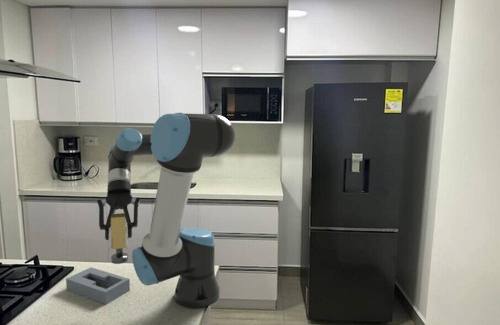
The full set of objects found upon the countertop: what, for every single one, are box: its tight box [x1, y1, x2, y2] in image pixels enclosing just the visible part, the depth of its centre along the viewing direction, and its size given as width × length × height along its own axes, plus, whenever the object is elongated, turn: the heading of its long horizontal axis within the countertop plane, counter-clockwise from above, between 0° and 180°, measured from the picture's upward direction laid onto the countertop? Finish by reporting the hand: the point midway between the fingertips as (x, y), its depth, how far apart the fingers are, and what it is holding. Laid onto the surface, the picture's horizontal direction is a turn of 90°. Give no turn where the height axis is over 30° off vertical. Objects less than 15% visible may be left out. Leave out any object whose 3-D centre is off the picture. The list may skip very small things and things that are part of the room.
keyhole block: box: [65, 266, 131, 305], centre depth 115 cm, size 20×10×4 cm, turn 64°
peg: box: [110, 212, 129, 265], centre depth 105 cm, size 5×5×15 cm
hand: (118, 248), depth 102 cm, fingers closed on peg, 4 cm apart
